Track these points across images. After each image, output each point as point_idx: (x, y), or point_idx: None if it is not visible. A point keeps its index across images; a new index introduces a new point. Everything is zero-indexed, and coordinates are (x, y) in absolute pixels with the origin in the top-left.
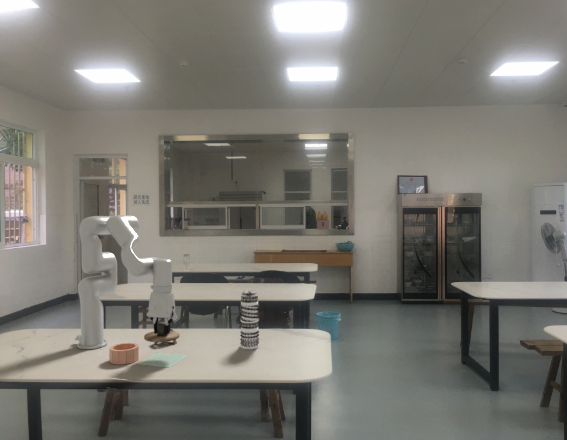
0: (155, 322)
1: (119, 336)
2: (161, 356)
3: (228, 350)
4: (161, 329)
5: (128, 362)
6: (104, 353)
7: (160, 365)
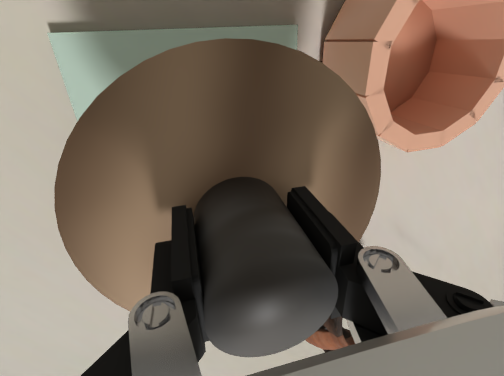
0: (360, 272)
1: (491, 268)
2: None
3: (11, 370)
4: (227, 223)
5: (344, 8)
6: (496, 117)
7: (139, 48)
